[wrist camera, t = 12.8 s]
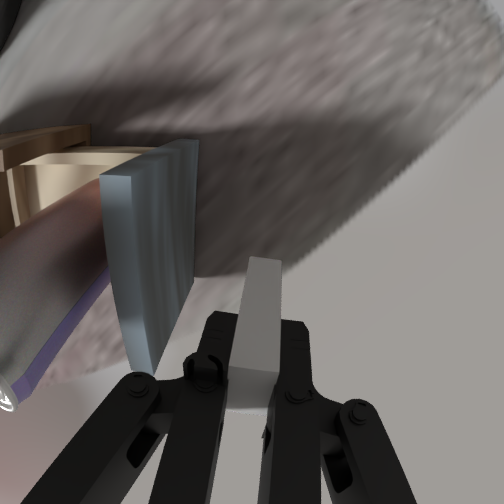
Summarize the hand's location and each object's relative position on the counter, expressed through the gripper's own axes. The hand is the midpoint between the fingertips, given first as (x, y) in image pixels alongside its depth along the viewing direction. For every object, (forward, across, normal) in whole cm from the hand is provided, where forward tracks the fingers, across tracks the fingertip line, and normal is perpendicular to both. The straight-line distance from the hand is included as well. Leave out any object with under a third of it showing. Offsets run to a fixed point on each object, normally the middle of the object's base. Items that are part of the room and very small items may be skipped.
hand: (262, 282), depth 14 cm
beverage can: (+6, -11, 0) cm, 12 cm away
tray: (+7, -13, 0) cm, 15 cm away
